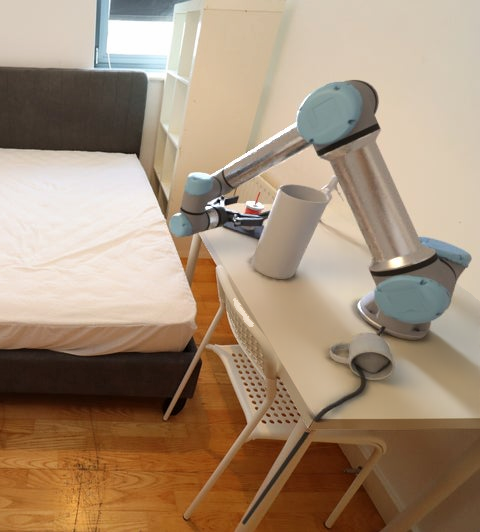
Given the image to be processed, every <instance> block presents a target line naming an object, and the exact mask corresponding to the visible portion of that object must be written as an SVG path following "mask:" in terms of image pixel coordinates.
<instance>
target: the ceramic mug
mask: <svg viewBox="0 0 480 532" xmlns="http://www.w3.org/2000/svg"><path fill="white" fill-rule="evenodd" d="M376 334H377V333H372V332H362V333H358V334H356V335H354V336H353V337H352V338H351V339H350V341H349V343H347V342H344V343H343V342H340V343H334V344H333V345H331V346H330V347H329V357H330V358H331V359H332V360H334V361H335V362H337V363H340V364H345V365H348V366H349V368H350V370H351V372H352V373H354V374H355V375H356V376H357V377H360V374H359V372H358V370H357V368H356V366H355V364H356V365H358V366H359V367H360V368H361V370H362V372H363V374H364V376H365V379H366V380H370V381H379V380H384V379H386V378H388V377H390V376H391V375H392V374H393V373H394V371H395V368H396V364H395V361H394V357H393V355H392V351H391V348H390V346H389V343H388V342H387V341H386V339H384V338H383V337H382V336H381V335H380V336H378V335H376ZM337 350H348V357H344V356H341V355H338V354H336V353H335V352H336V351H337Z"/></svg>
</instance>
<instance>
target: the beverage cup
mask: <svg viewBox="0 0 480 532" xmlns="http://www.w3.org/2000/svg"><path fill="white" fill-rule="evenodd" d="M260 195H261V190H260V191H258V194H257V196H256V199H255V201H254V200H248V201H246V203H245V208H244V212H243V214H250V215H257V214H259V213H262V211H263V210H264V209H265V205H264V204H263V203H261V202H258V201H259V197H260ZM241 227H242V228H244V229H247V230H253V229H254V227H255V226H241Z"/></svg>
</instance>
